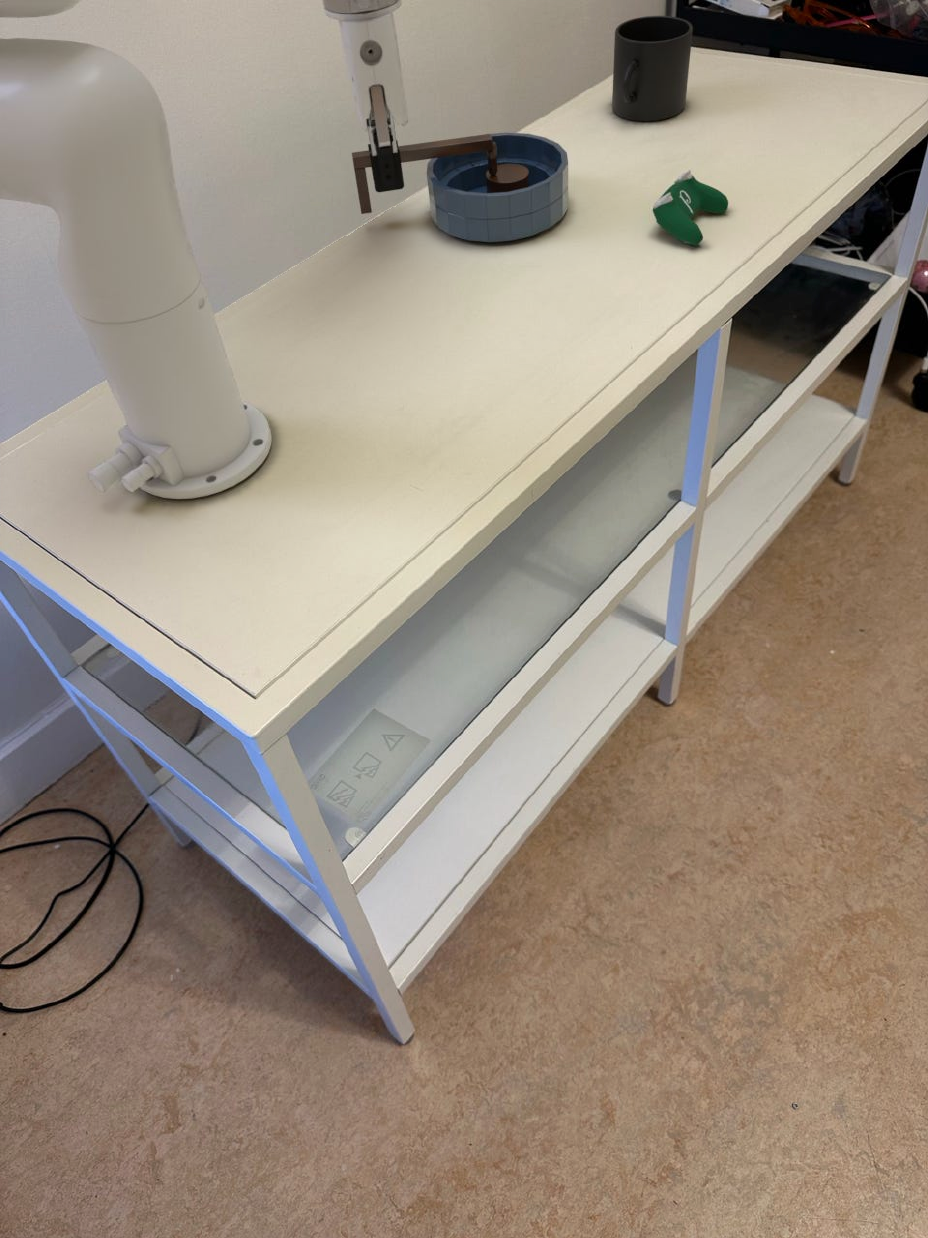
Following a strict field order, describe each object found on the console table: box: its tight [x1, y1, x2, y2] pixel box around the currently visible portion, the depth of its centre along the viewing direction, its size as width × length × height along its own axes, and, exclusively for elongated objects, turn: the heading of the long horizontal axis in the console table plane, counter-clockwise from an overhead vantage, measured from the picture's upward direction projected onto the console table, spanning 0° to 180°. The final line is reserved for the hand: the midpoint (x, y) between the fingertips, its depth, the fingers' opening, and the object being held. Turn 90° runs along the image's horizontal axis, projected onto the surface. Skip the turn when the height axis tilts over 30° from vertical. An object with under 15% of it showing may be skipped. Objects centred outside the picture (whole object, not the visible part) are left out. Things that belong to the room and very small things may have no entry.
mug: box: [611, 15, 694, 122], centre depth 113 cm, size 9×12×9 cm
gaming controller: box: [652, 169, 729, 247], centre depth 96 cm, size 9×4×6 cm
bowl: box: [426, 131, 569, 243], centre depth 100 cm, size 15×15×6 cm
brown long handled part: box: [351, 133, 529, 215], centre depth 99 cm, size 19×5×6 cm, turn 98°
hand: (388, 183), depth 99 cm, fingers closed on brown long handled part, 1 cm apart
